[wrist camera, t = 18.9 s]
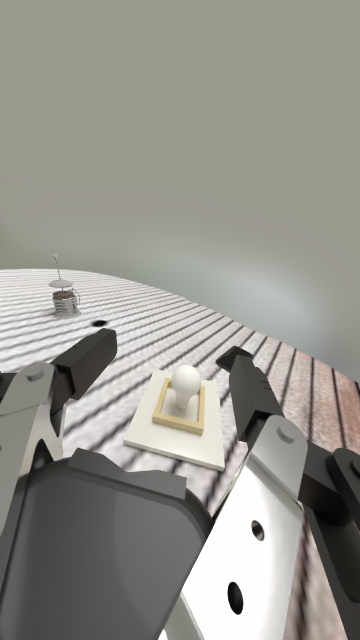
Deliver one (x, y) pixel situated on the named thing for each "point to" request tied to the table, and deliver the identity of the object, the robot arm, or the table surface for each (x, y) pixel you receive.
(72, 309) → the french press
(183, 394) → the lightbulb
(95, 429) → the table surface
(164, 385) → the lamp base
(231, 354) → the phone
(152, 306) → the table surface
